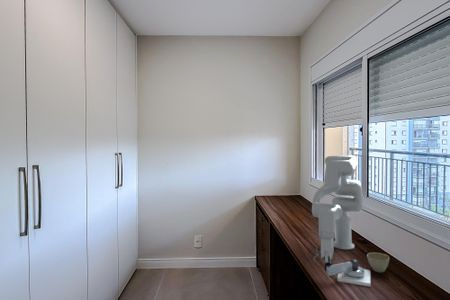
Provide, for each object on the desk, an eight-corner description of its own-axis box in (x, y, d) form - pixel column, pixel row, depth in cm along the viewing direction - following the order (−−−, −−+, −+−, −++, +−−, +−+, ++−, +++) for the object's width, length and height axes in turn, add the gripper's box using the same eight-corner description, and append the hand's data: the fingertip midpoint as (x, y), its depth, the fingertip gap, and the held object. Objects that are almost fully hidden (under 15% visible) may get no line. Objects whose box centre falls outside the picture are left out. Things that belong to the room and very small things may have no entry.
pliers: (315, 262, 155) (305, 248, 175) (315, 264, 155) (305, 250, 175) (333, 261, 155) (320, 247, 175) (333, 263, 155) (320, 249, 175)
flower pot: (368, 264, 151) (367, 251, 151) (389, 268, 146) (389, 254, 146) (366, 272, 142) (366, 258, 142) (389, 276, 137) (389, 261, 137)
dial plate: (340, 268, 148) (340, 265, 148) (370, 273, 142) (370, 269, 141) (337, 281, 135) (337, 277, 135) (370, 286, 129) (370, 282, 129)
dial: (355, 267, 144) (354, 255, 144) (368, 275, 135) (368, 262, 135) (322, 274, 139) (321, 262, 138) (334, 283, 130) (333, 269, 130)
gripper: (321, 227, 145) (322, 262, 146) (316, 237, 132) (318, 276, 133) (337, 229, 142) (338, 265, 143) (333, 239, 129) (335, 279, 130)
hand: (328, 270), depth 138 cm, fingers closed
